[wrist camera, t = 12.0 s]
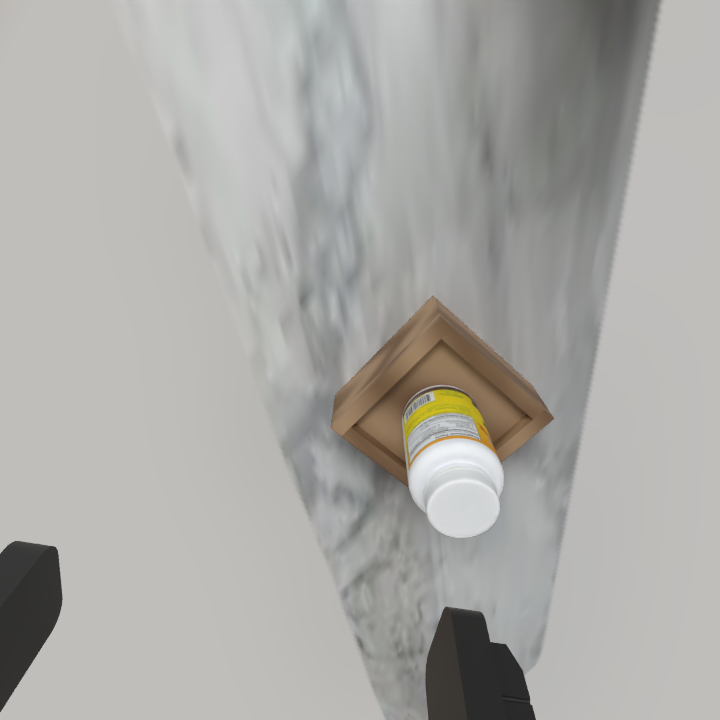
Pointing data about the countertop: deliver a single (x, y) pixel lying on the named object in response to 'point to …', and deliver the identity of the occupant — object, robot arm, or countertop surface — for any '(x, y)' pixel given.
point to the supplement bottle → (451, 461)
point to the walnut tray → (429, 368)
